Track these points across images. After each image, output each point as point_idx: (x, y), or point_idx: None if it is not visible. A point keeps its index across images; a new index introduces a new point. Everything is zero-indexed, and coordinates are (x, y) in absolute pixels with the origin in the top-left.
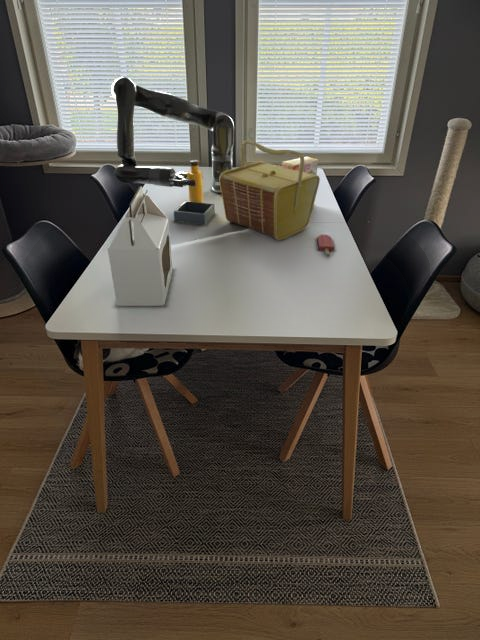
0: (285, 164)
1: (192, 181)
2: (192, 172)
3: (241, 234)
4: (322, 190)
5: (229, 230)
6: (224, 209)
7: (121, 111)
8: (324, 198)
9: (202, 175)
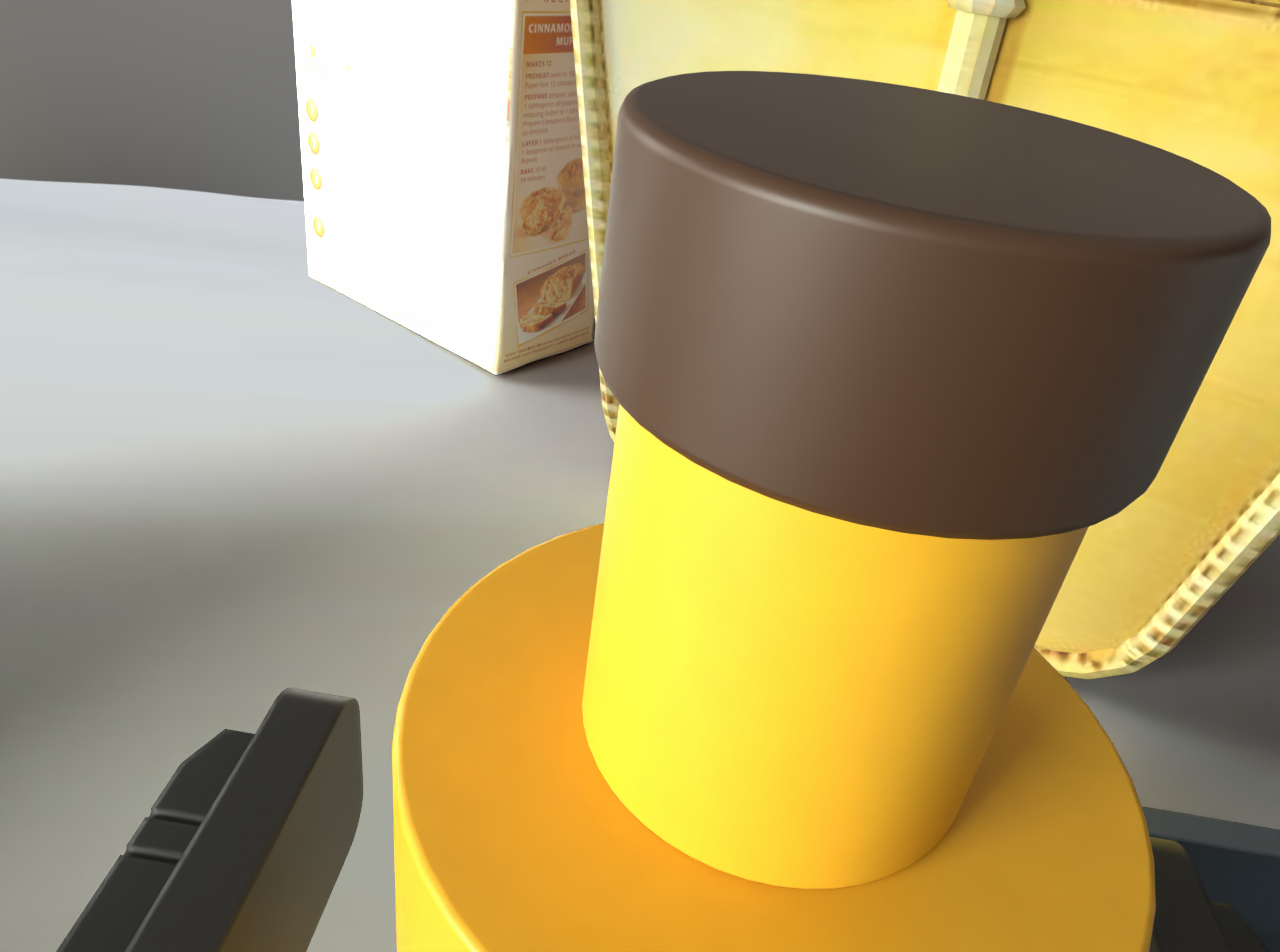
0: None
1: (1202, 937)
2: (964, 787)
3: (1243, 598)
4: (62, 192)
5: (1241, 687)
6: (1237, 577)
7: None
8: (259, 210)
9: (311, 699)
